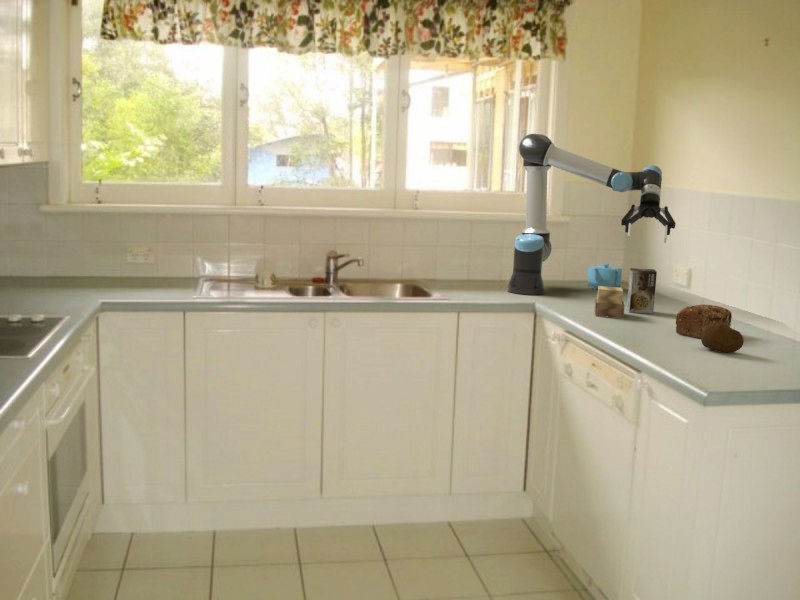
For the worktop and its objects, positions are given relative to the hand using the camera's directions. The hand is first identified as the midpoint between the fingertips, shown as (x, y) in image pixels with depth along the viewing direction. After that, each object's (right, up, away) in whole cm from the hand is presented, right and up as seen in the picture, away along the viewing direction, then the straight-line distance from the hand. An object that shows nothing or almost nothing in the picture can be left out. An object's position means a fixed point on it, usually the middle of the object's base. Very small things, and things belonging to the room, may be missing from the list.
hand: (646, 239), depth 340 cm
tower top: (-18, -24, -16) cm, 34 cm away
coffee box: (-4, -28, -6) cm, 29 cm away
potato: (+3, -39, -69) cm, 79 cm away
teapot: (-6, -19, +46) cm, 50 cm away
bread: (+7, -35, -42) cm, 55 cm away
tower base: (-18, -29, -15) cm, 37 cm away
